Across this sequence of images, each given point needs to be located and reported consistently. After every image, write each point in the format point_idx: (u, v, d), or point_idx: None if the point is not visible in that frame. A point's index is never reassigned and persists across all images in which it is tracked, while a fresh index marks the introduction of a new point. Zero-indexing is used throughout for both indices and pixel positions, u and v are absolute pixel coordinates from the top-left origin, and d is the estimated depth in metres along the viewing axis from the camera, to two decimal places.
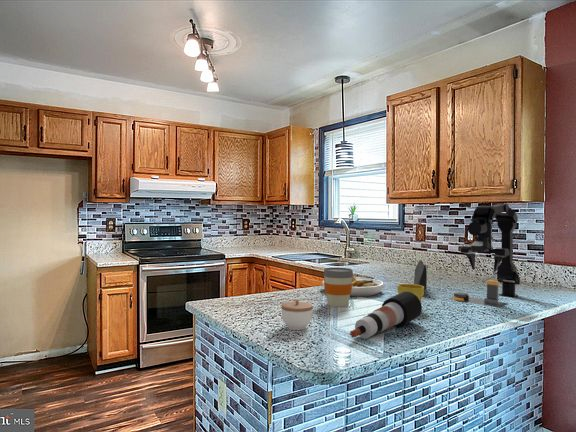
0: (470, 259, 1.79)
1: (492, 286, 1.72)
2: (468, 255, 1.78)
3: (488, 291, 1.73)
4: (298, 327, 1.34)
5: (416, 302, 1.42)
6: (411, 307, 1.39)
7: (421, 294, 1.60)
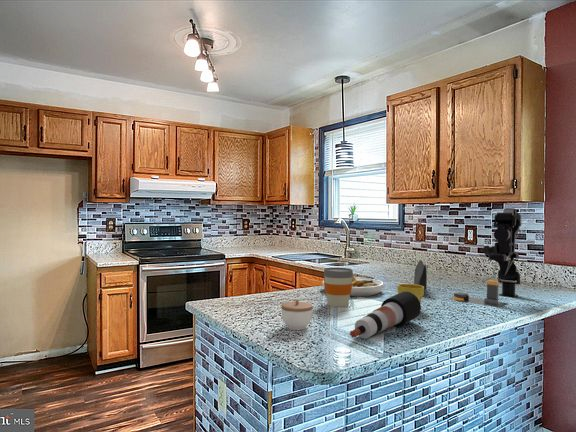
0: None
1: (492, 286, 1.72)
2: None
3: (488, 291, 1.73)
4: (298, 327, 1.34)
5: (415, 302, 1.42)
6: (410, 307, 1.39)
7: (421, 294, 1.60)
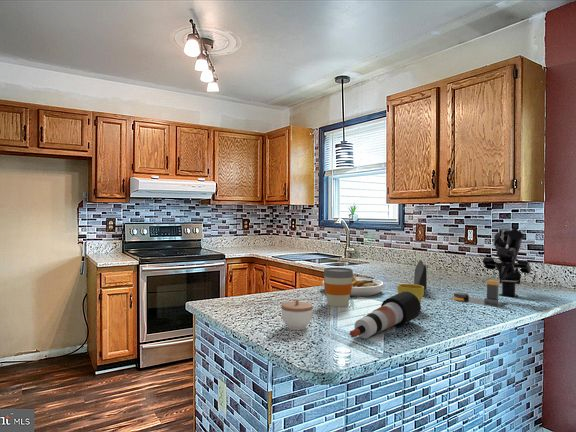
0: (500, 269, 1.80)
1: (492, 286, 1.72)
2: (499, 264, 1.81)
3: (488, 291, 1.73)
4: (298, 327, 1.34)
5: (415, 302, 1.42)
6: (410, 307, 1.39)
7: (421, 294, 1.60)
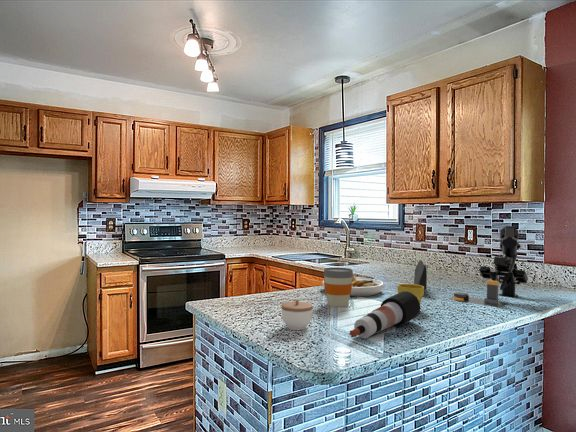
0: (494, 278, 1.78)
1: (492, 286, 1.72)
2: (493, 273, 1.79)
3: (488, 291, 1.73)
4: (298, 327, 1.34)
5: (414, 302, 1.42)
6: (410, 307, 1.39)
7: (421, 294, 1.60)
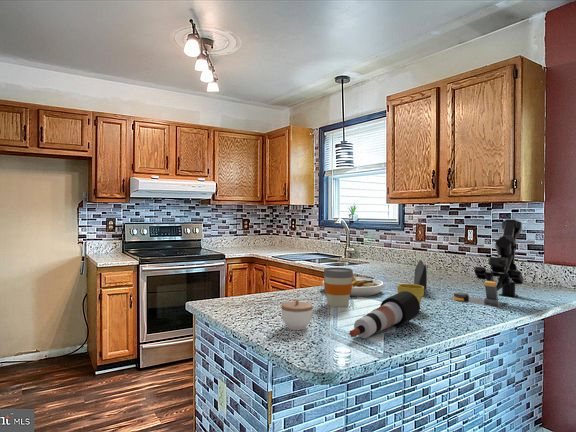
0: (489, 279, 1.75)
1: (490, 287, 1.70)
2: (489, 274, 1.76)
3: (487, 292, 1.72)
4: (298, 327, 1.34)
5: (414, 302, 1.42)
6: (409, 307, 1.39)
7: (421, 294, 1.60)
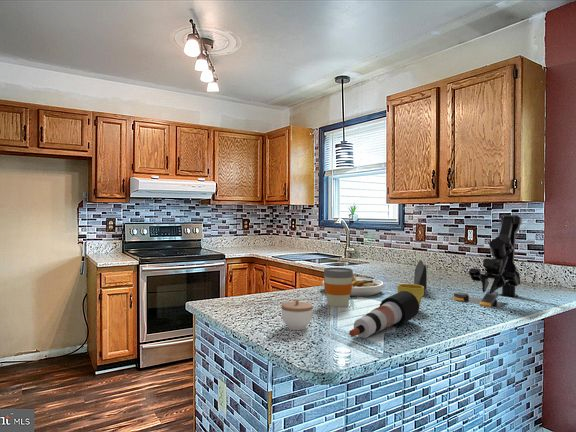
0: (483, 281, 1.71)
1: None
2: (483, 276, 1.72)
3: None
4: (298, 327, 1.34)
5: (413, 301, 1.42)
6: (409, 306, 1.39)
7: (421, 294, 1.60)
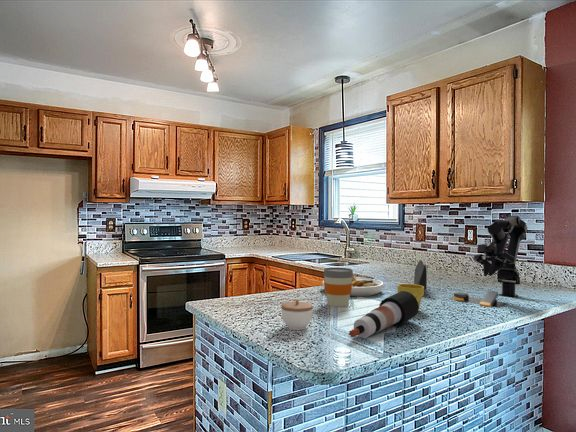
0: (484, 265, 1.82)
1: None
2: (483, 261, 1.82)
3: None
4: (298, 327, 1.34)
5: (413, 302, 1.43)
6: (408, 307, 1.40)
7: (421, 294, 1.60)
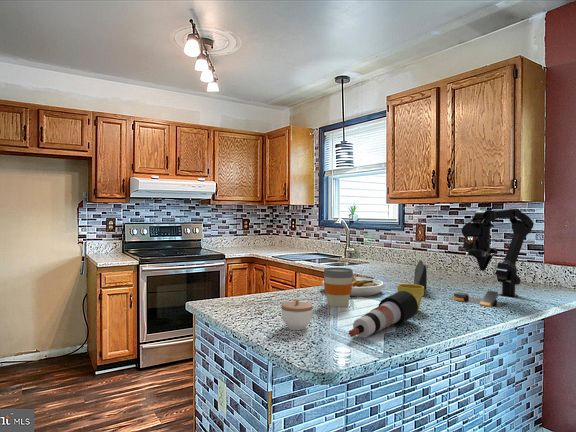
0: None
1: None
2: None
3: None
4: (298, 327, 1.34)
5: (412, 301, 1.43)
6: (408, 306, 1.40)
7: (421, 294, 1.60)
